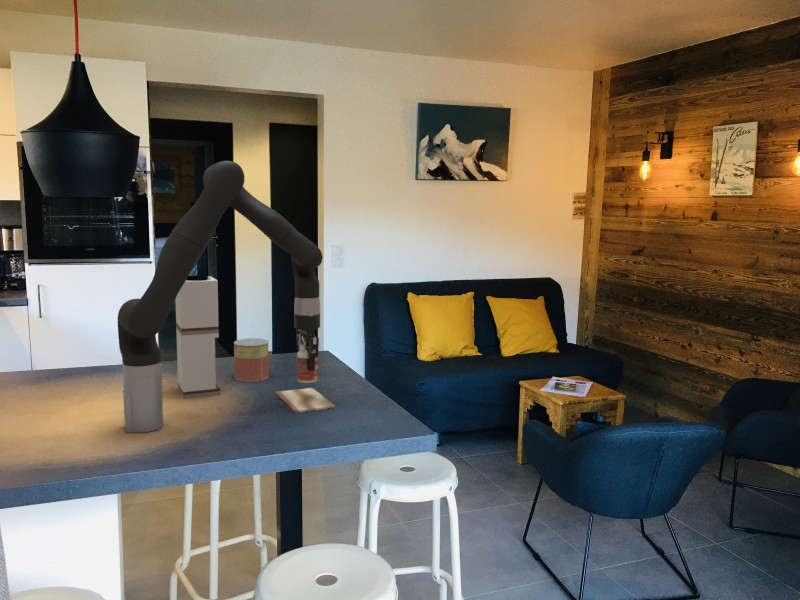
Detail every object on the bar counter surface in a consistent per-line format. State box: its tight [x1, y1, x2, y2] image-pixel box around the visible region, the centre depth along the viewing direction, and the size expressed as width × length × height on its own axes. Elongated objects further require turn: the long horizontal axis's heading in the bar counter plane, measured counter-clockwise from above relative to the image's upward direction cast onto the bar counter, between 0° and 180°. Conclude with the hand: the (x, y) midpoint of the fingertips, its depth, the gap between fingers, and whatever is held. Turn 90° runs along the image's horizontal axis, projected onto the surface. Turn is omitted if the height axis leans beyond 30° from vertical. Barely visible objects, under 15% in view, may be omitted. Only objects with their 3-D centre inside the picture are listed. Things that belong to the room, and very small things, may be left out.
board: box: [274, 387, 336, 414], centre depth 193 cm, size 12×20×1 cm, turn 26°
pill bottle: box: [296, 343, 319, 384], centre depth 192 cm, size 6×6×11 cm
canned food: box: [233, 338, 270, 382], centre depth 217 cm, size 11×11×12 cm
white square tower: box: [175, 275, 221, 400], centre depth 197 cm, size 11×11×35 cm
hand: (307, 367), depth 192 cm, fingers closed on pill bottle, 6 cm apart
